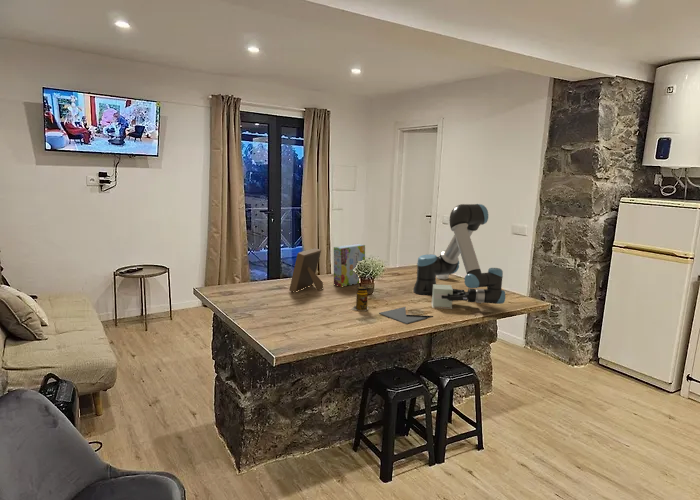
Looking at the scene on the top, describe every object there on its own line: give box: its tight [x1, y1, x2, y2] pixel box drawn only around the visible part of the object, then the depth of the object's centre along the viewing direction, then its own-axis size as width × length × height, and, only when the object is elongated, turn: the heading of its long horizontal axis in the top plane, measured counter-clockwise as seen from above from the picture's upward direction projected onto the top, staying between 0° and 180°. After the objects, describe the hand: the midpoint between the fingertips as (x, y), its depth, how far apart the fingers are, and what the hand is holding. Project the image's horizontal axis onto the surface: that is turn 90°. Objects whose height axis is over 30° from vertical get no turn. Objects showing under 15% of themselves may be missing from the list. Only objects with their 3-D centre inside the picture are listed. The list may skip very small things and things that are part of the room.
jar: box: [436, 274, 450, 280], centre depth 329 cm, size 9×8×12 cm
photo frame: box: [288, 247, 324, 293], centre depth 287 cm, size 15×22×25 cm
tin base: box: [430, 301, 454, 310], centre depth 257 cm, size 11×11×6 cm
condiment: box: [350, 286, 370, 312], centre depth 252 cm, size 7×8×12 cm
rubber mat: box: [378, 306, 434, 325], centre depth 242 cm, size 20×20×1 cm
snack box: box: [333, 243, 366, 288], centre depth 305 cm, size 22×9×26 cm, turn 133°
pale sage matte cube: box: [431, 283, 454, 308], centre depth 256 cm, size 10×10×10 cm
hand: (434, 293), depth 256 cm, fingers closed on pale sage matte cube, 10 cm apart
